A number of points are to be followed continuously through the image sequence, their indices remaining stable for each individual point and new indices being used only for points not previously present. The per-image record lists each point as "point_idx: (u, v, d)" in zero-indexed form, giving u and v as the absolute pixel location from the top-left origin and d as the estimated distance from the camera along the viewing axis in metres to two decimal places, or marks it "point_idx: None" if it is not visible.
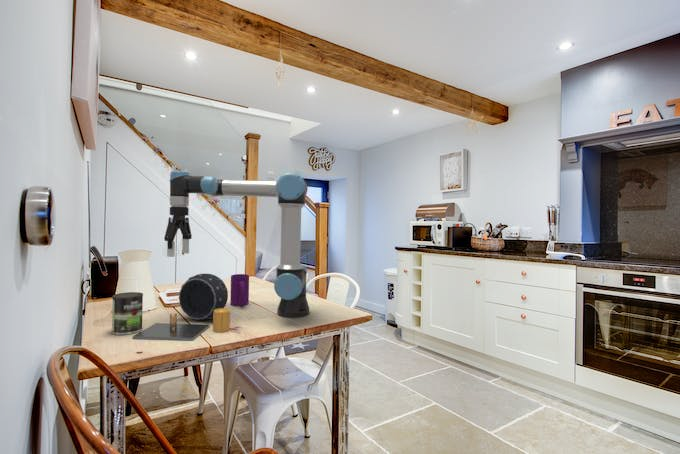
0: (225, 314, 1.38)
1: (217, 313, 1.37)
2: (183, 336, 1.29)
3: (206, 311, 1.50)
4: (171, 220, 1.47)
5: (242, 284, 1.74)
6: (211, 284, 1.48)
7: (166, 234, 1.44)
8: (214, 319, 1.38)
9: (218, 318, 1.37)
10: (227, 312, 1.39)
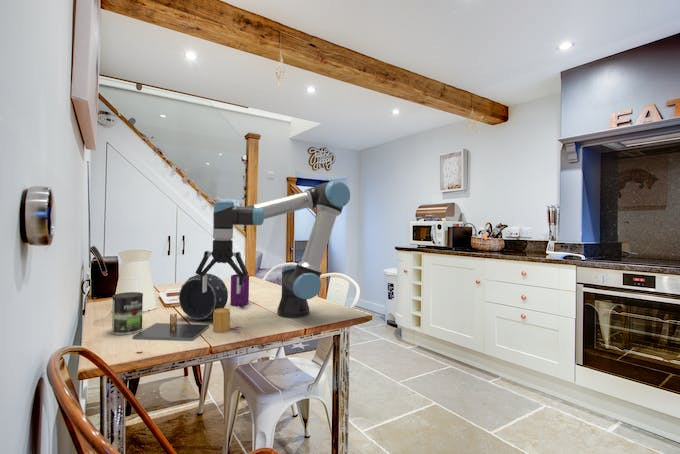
0: (225, 314, 1.38)
1: (217, 313, 1.37)
2: (183, 336, 1.29)
3: (206, 311, 1.50)
4: None
5: None
6: (211, 284, 1.48)
7: None
8: (214, 319, 1.38)
9: (218, 318, 1.37)
10: (227, 312, 1.39)
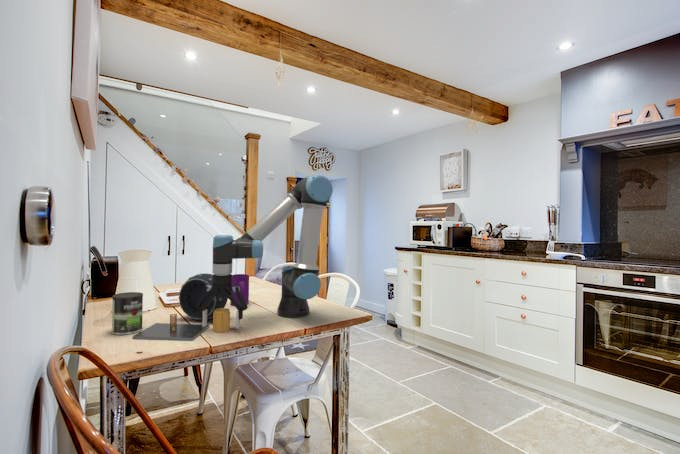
0: (225, 314, 1.38)
1: (217, 313, 1.37)
2: (183, 336, 1.29)
3: None
4: None
5: (242, 284, 1.74)
6: (211, 284, 1.48)
7: None
8: (214, 319, 1.38)
9: (218, 318, 1.37)
10: (227, 312, 1.39)
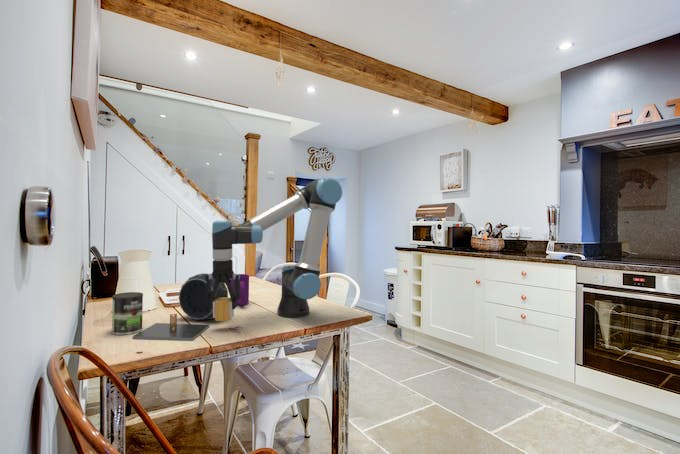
0: (227, 303, 1.38)
1: (219, 302, 1.37)
2: (183, 336, 1.29)
3: (206, 311, 1.50)
4: None
5: (242, 284, 1.74)
6: (211, 284, 1.48)
7: None
8: (216, 308, 1.38)
9: (220, 307, 1.37)
10: (229, 301, 1.39)
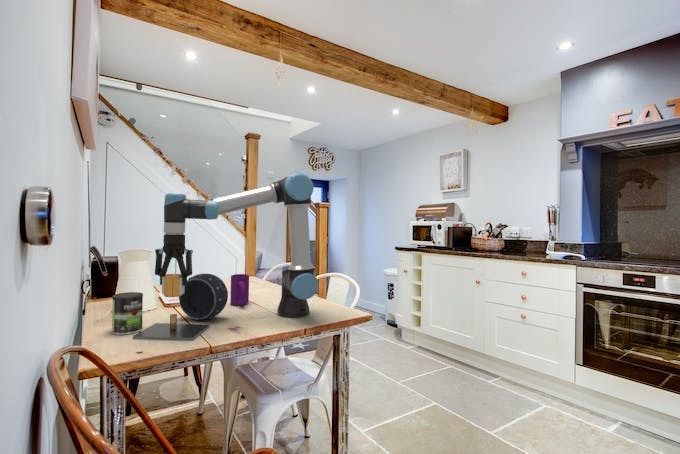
0: (176, 279, 1.33)
1: (168, 277, 1.32)
2: (183, 336, 1.29)
3: (206, 311, 1.50)
4: None
5: (242, 284, 1.74)
6: (211, 284, 1.48)
7: None
8: (165, 284, 1.33)
9: (169, 283, 1.32)
10: (179, 277, 1.34)
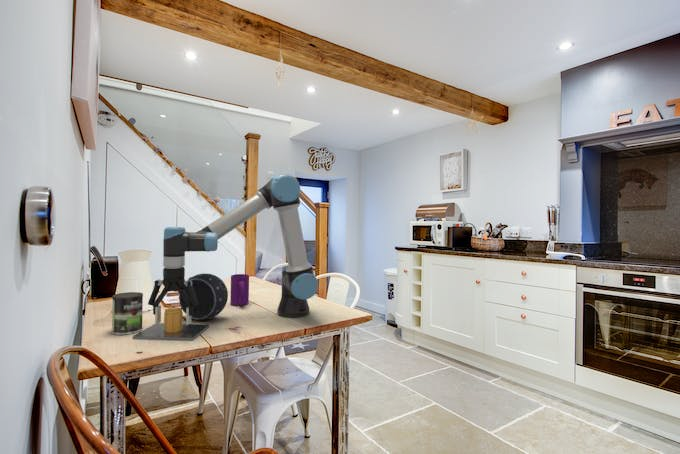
0: (176, 314, 1.33)
1: (168, 313, 1.33)
2: (183, 336, 1.29)
3: (206, 311, 1.50)
4: None
5: (242, 284, 1.74)
6: (211, 284, 1.48)
7: None
8: (165, 319, 1.33)
9: (169, 318, 1.33)
10: (179, 312, 1.34)
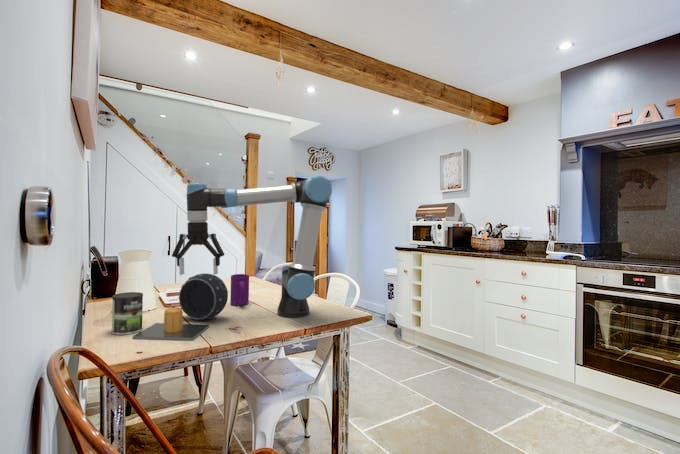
0: (176, 314, 1.33)
1: (168, 313, 1.33)
2: (183, 336, 1.29)
3: (206, 311, 1.50)
4: None
5: (242, 284, 1.74)
6: (211, 284, 1.48)
7: None
8: (165, 319, 1.33)
9: (169, 318, 1.33)
10: (179, 312, 1.34)
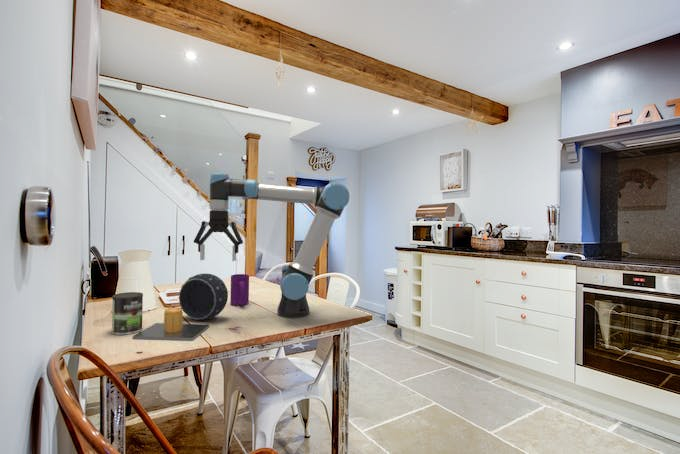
0: (176, 314, 1.33)
1: (168, 313, 1.33)
2: (183, 336, 1.29)
3: (206, 311, 1.50)
4: None
5: (242, 284, 1.74)
6: (211, 284, 1.48)
7: None
8: (165, 319, 1.33)
9: (169, 318, 1.33)
10: (179, 312, 1.34)
